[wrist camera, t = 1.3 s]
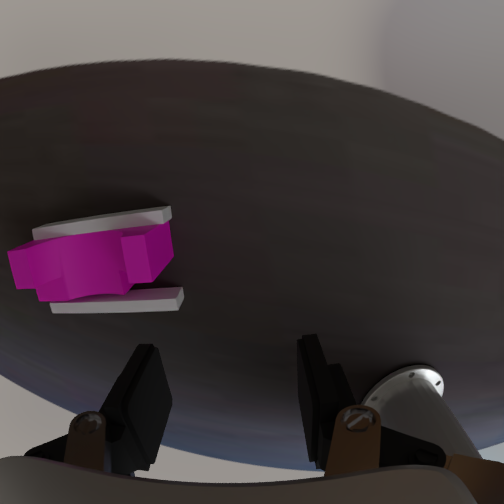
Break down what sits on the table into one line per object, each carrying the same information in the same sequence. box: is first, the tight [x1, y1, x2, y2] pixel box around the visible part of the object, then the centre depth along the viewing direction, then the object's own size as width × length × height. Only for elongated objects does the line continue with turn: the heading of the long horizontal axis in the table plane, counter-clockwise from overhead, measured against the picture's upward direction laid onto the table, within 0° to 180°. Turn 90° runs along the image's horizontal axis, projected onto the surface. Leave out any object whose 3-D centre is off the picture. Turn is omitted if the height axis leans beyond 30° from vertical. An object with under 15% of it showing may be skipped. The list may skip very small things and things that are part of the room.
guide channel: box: [32, 206, 184, 313], centre depth 29 cm, size 9×15×3 cm, turn 95°
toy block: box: [8, 220, 174, 301], centre depth 27 cm, size 15×6×8 cm, turn 95°
